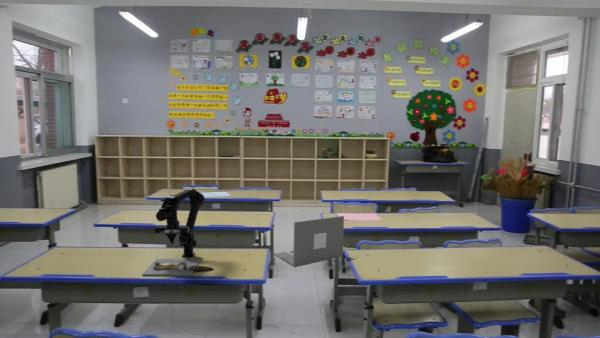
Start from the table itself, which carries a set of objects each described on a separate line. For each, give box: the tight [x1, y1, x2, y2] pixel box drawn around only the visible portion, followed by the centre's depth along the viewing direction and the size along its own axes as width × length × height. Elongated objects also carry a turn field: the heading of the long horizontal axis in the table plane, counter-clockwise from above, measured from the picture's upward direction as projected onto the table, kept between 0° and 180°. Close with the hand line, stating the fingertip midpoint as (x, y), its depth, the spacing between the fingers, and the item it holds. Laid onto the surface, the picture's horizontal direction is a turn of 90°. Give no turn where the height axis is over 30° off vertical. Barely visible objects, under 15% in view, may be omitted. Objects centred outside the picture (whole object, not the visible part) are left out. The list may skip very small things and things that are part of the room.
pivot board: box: [142, 258, 202, 277], centre depth 235 cm, size 25×26×1 cm
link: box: [153, 262, 187, 269], centre depth 232 cm, size 18×4×3 cm, turn 96°
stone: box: [190, 265, 214, 272], centre depth 232 cm, size 13×5×2 cm, turn 103°
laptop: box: [273, 215, 345, 268], centre depth 257 cm, size 35×26×27 cm
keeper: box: [178, 262, 186, 271], centre depth 230 cm, size 6×3×3 cm, turn 2°
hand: (172, 244), depth 240 cm, fingers closed
